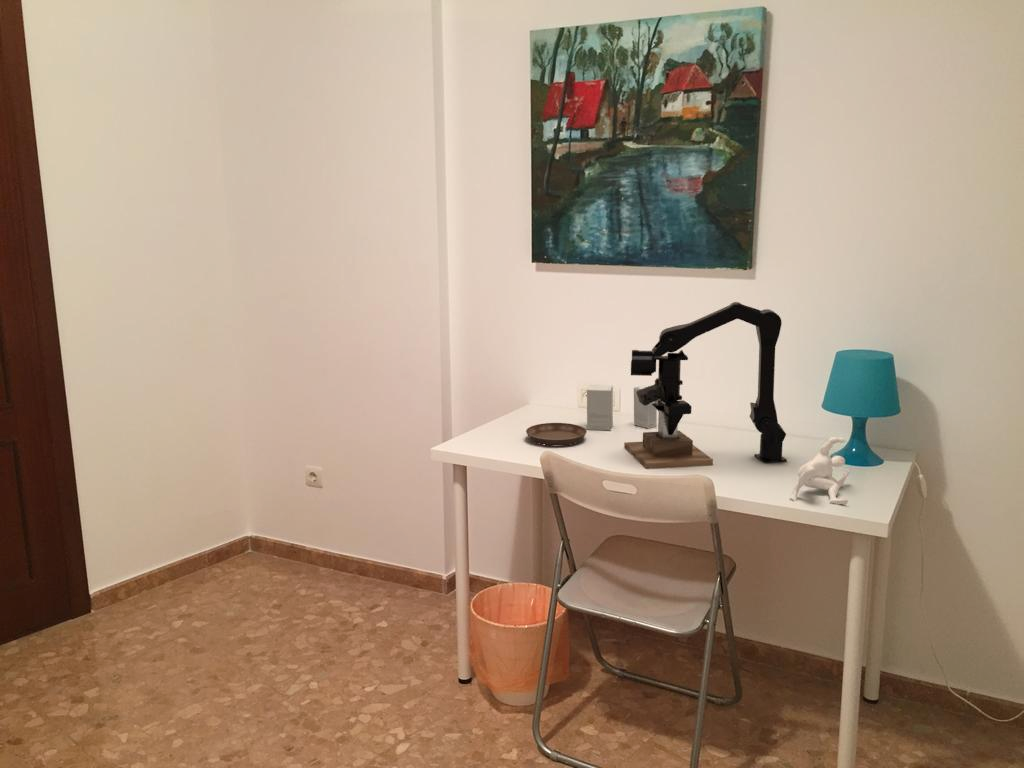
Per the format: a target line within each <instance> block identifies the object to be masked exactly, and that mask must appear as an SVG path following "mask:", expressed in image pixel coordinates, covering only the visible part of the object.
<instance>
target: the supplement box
mask: <svg viewBox="0 0 1024 768" xmlns="http://www.w3.org/2000/svg"><path fill="white" fill-rule="evenodd" d="M613 387H614V386H613V385H598V384H590V385H589V387H588V388H587V389H586V428H587V429H586V430H587V431H588V430H589V431H592V430H593V431H597V430H598V431H611V429H612V427H613V424H614V421H613V419H614V418H613V417H614V416H613V414H614V413H613V411H614V408H613V406H614V405H613V403H614V388H613Z"/></svg>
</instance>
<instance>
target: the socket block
mask: <svg viewBox="0 0 1024 768" xmlns="http://www.w3.org/2000/svg"><path fill="white" fill-rule="evenodd" d="M693 441H694V440H693V439H692V438H690V437H688V436H687V435H686V434H684V433H683V432H682V431H681V430H677V439H662V440H661V439H660V438H659V437H658V431H646V432H645V431H643V432H642V441H629V442H626V441H624V443H623V444H624V445H623V447H624V449H625V450H626V451H627V452H628V453H629V452H630V453H631V454H630V455H631V456H632V455H633V456H634V457H633V456H632V457H633V458H635V460H636V461H637V462H639V464H641V465H642V466H643V467H644V468H645V469H646V470H649V468H652V469H666V467H670V468H681V467H683V468H685V467H702V466H703V465H704V466H713V465H714V459H713V458H711V456H709V455H708V454H706V453H705V452H704V451H702V450H701V449H700V448H698V447H697V446H696V445H694V444H693V443H694V442H693Z"/></svg>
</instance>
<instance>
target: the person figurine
mask: <svg viewBox="0 0 1024 768" xmlns="http://www.w3.org/2000/svg"><path fill="white" fill-rule="evenodd" d="M845 442H846V440H845V438H844V437H834V436H832V437H829V438H828V440H827V442H825V443H823V444H822V445H821V447H820V449H819V451H818V453H817V454H816V455H815V456H814V457H813V458H812V459H811V460H810V461H807V462H805V463H804V464H803V465H802V466H800V468H799V471H798V473H797V476H798V477H799V478H798V482H797V484H796V486H795V487H794V488H793V490H792V492H791V494H790V495H789V499H790V500H791V501H792V500H793V502H796V501H797V499H798V494H799V492H800V490H801V488H802V487H803V486H805V487H807V488H811V489H819V490H823V491H827V494H828V496H829V501H828V502H829V504H831V503H836V504H835V505H837V504H845V505H844V506H846V505H847V504H848V502H849V500H848V499H843V498H837V495H838V491H839V490H840V489H841V488H842V486H843V485H845V482H846V480H847V477H848V476H849V474H851V472H850V470H849V469H846V468H845V469H844V470H843V472H842V473H843V476H842V477H841V479H839V480H837V479H836V478H835V477H833V471H834V470H833V467H834V468H839V467H843V466H844V465H845V464H846V459H845V458H844V457H843V456H842V455H833V456H832V457H830V451H831V449H832V448H833V445H835V444H838V443H842V444H843V443H845Z"/></svg>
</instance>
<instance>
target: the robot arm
mask: <svg viewBox="0 0 1024 768" xmlns="http://www.w3.org/2000/svg"><path fill="white" fill-rule="evenodd" d="M736 320H740V321H742V322H746V323H748V324H750V325H753V326H755V329H756V330H755V331H756V336H757V341H758V346H759V347H758V353H759V354H758V372H757V373H758V374H757V375H758V377H757V378H758V380H757V397H756V401H755V402H750V403H749V404H750V414H749V418H750V420H751V421H752V423H753V425H754V427H755V428H756V431H758V432H759V433H761V434H760V437H759V439H760V441H759V453H755V454H754V457H755V458H756V459H758V460H759V461H761V462H762V463H764V464H765V463H767V464H768V463H784V462H788V459H787V458H785V457H784V456H783V445H784V443H783V442H784V440H785V438H786V435H787V433H786V431H785V430H784V429H783V427H782V426H781V425H780V424H779V421H778V415H777V408H776V405H775V404H776V403H775V400H774V394H775V393H774V392H775V365H776V364H775V363H776V362H775V361H776V346H777V343H778V340H779V337H780V333H781V328H782V323H783V322H782V318H781V317H780V315H779V314H778V313H776V312H775V311H774V310H771V309H768V308H767V309H762V310H760V309H757V308H754V307H752V306H747V305H745V304H742V303H741V302H738V301H734V302H731V303H730V304H729V305H727V306H724V307H722V308H720V309H718V310H716V311H713V312H712V313H708V314H707V315H704V316H702V317H700V318H698V319H696V320H694V321H691V322H688V323H684V324H679V325H674V326H671V327H667V328H664V329H663V330H662V331H661V332H660V333H659V336H658V342H657V343H656V344H655V345H654V346H653V347H652V349H651V350H638V349H632V350H631V360H630V376H643V377H644V376H645V377H646V376H649V377H650V376H653V375H652V374H654V373H656V372H657V361H658V372H657V373H658V377H657V378H655V380H654V384H652V385H650V386H649V385H648V386H646V388H643V389H641V390H639V391H637V392H636V393H637V396H638V399H639V402H640V403H642V404H643V405H644V406H645V405H648V404H650V403H651V402H654V401H655V403H654V404H652V405H653V406H654V407H655V408H656V409H657V412H658V413H659V410H662V411H661V412H662V413H663V414H664V415H665V416H666V421H667V429H668V434H669V435H672V434H673V433H674V431H675V429H676V427H677V425H678V426H679V423H680V422H681V419H682V418H683V417H684V415H691V414H692V405H691V404H689V402H687V401H686V400H684V399H683V395H681V394H680V393H681V392H680V391H681V386H682V385H683V383H684V381H683V380H681V365H682V364H681V363H682V361H688V360H689V357H688V355H687V354H685V352H684V351H683V349H681V348H684V347H685V346H686V345H687V344H689V343H690V342H691V341H692V340H694V339H695V338H698V337H699V336H701V335H704V334H706V333H707V332H708V333H709V332H710V331H713V330H714V329H717V328H719V327H721V326H724V325H726V324H728V323H731V322H732V321H736ZM679 350H680V351H679ZM677 351H678V352H677Z"/></svg>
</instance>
